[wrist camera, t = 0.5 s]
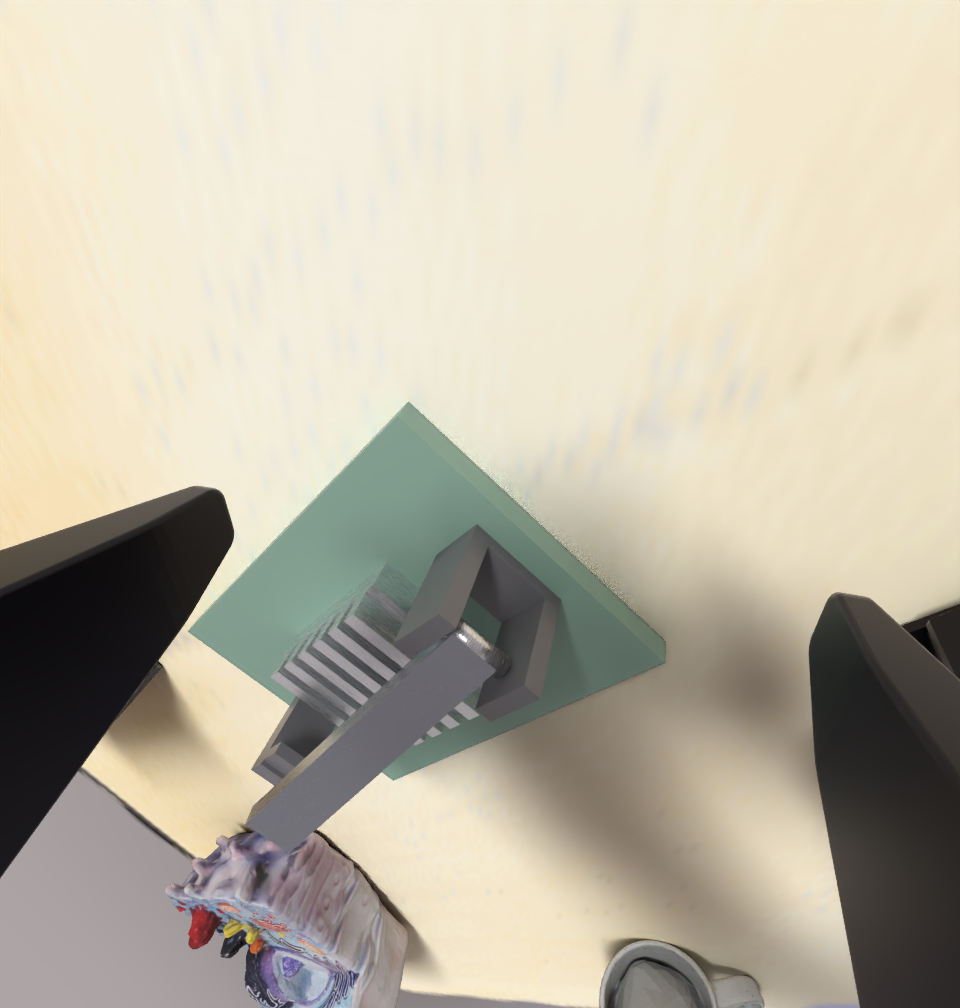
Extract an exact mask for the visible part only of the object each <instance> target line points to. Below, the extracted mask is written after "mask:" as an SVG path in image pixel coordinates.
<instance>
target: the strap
mask: <svg viewBox="0 0 960 1008" xmlns="http://www.w3.org/2000/svg"><path fill="white" fill-rule="evenodd" d="M510 664H511V659H510V658H509V657H508V656H506V655H505V654H504V653H503V652H502V651H501V650H499V649H498V648H497V647H496V646H495V645H493V644H492V643H491V642H490V641H489V640H487V639H486V638H485V637H484V636H483V635H482V634H480V633H479V632H478V631H477V630H476V629H474V628H473V627H472V626H471V625H470V624H468V623H467V622H466V621H465V620H464V619H463V618H460V621H459V623H458V626H457V628H456V629H455V630H454V631H452V632H450V633H449V634H447V635H445V636H444V637H442V638H441V639H439V640H437V641H436V642H434V643H433V644H431V645H429V646H428V647H426V648H425V649H423V650H421V651H420V652H419V653H418V654H417V655H416V656H415V657H414V658H413V659H411V660H410V661H409V662H408V663H407V664H406V665H405V666H404V667H403V668H402V669H401V670H400V671H399V672H397V673H396V674H395V675H394V676H393V677H392V678H391V679H390V680H389V681H388V682H387V683H386V684H384V685H383V686H382V687H381V688H380V689H379V690H378V691H377V692H376V693H375V694H374V695H373V696H372V697H370V698H369V699H368V700H367V701H366V702H365V703H364V704H363V705H362V706H361V707H360V708H359V709H357V710H356V711H355V712H354V713H353V714H352V715H351V716H350V717H349V718H348V719H347V720H346V721H345V722H343V723H342V724H341V725H340V726H339V727H338V728H337V729H336V730H335V731H334V732H333V733H332V734H330V735H329V736H328V737H327V738H326V739H325V740H324V741H323V742H322V743H321V744H320V745H319V746H318V747H316V748H315V749H314V750H313V751H312V752H311V753H310V754H309V755H308V756H307V757H306V758H305V759H303V760H302V761H301V762H300V763H299V764H298V765H297V766H296V767H295V768H294V769H293V770H292V771H291V772H289V773H288V774H287V775H286V776H285V777H284V778H283V779H282V780H281V781H280V782H279V783H278V784H277V785H275V786H274V787H273V788H272V789H271V790H270V791H269V792H268V793H267V794H266V795H265V796H264V797H262V798H261V799H260V800H259V801H258V802H257V803H256V804H255V805H254V806H253V807H252V810H251V812H250V814H249V817H248V819H247V821H246V824H245V825H247V826H248V827H250V828H251V829H253V830H254V831H256V832H257V833H259V834H261V835H262V836H264V837H265V838H267V839H268V840H270V841H271V842H273V843H274V844H276V845H277V846H279V847H281V848H282V849H284V850H285V851H287V852H288V853H290V852H291V851H292V850H293V849H294V848H295V847H297V846H298V845H299V844H300V843H301V842H302V841H303V840H305V839H306V838H307V837H308V836H309V835H310V834H311V833H313V832H314V831H315V830H316V829H317V828H318V827H319V826H321V825H322V824H323V823H324V822H325V821H326V820H327V819H329V818H330V817H331V816H332V815H333V814H334V813H335V812H336V811H338V810H339V809H340V808H341V807H342V806H343V805H344V804H346V803H347V802H348V801H349V800H350V799H351V798H352V797H354V796H355V795H356V794H357V793H358V792H359V791H360V790H362V789H363V788H364V787H365V786H366V785H367V784H368V783H370V782H371V781H372V780H373V779H374V778H375V777H376V776H378V775H379V774H380V773H381V772H382V771H383V770H384V769H385V768H387V767H388V766H389V765H390V764H391V763H392V762H393V761H395V760H396V759H397V758H398V757H399V756H400V755H401V754H403V753H404V752H405V751H406V750H407V749H408V748H409V747H411V746H412V745H413V744H414V743H415V742H416V741H417V740H419V739H420V738H421V737H422V736H423V735H424V734H425V733H426V732H428V731H429V730H430V729H431V728H432V727H433V726H434V725H436V724H437V723H438V722H439V721H440V720H441V719H442V718H444V717H445V716H446V715H447V714H448V713H449V712H450V711H452V710H453V709H454V708H455V707H456V706H457V705H458V704H460V703H461V702H462V701H463V700H464V699H465V698H466V697H468V696H469V695H470V694H471V693H472V692H473V691H474V690H475V689H477V688H478V687H479V686H480V685H481V684H482V683H483V682H485V681H486V680H487V679H488V678H489V677H490V676H491V675H492V676H493V677H494V678H496V679H498V678H500V677H502V676H503V675H504V674H505V673H506V672H507V670H508V669H509V667H510Z"/></svg>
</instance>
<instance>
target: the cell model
mask: <svg viewBox="0 0 960 1008" xmlns="http://www.w3.org/2000/svg"><path fill="white" fill-rule="evenodd" d="M216 844H218V845H219V847H218V848H217V849H216V850H215V851H214V852H213V853H212V854H211V855H209V856H208V857H207V858H206V859H203V858H196V859H194V860H193V861H192V867H193V871H192V872H191V873H190V875H189V876H188V877H187V879H186V880H185V882H184V883H183V885H182V886H180V885H177V884H175V883H172V884H170V885H168V886H167V888H166V891H165V893H166V895H167V896H168V897H169V898H171V899H173V904H174V906H175V907H176V908H177V909H178V910H179V912H183V913H185V914H186V915H188V916H190V917H191V918H192V925H191V928H190V930H189V933H188V934H189V936H190V938H189V946H190V947H191V948H192V949H197V948H200V947H201V946H203V945H205V944H207V943H208V941H209V940H210V939H211V938H212V936H213V934H214V932H215V931H216V932H218V933H219V934H220V935H221V936H225V940H224V942H223V946H222V950H221V953H220V955H221V957H222V958H231V957H232V956H233V955H235V954H236V953H237V952H238V951H239V949H240V948H241V947H244V948H245V949H247V950H248V952H247V955H246V974H245V986H246V990H247V991H248V992H249V994H250V996H251V997H252V998H254V999H255V1000H256V1001H257V1002H258V1003H259V1004H261V1005H262V1006H261V1008H396V1004H397V999H398V995H399V990H400V985H401V980H402V974H403V967H404V961H405V956H406V950H407V946H408V941H409V938H408V933H407V931H406V929H405V928H404V927H403V926H402V925H401V924H400V923H399V922H398V921H397V920H396V919H395V918H394V917H393V916H392V915H391V914H390V913H389V912H388V911H387V910H386V908H385V907H384V906H383V904H382V903H381V901H380V900H379V897H378V895H377V893H376V892H375V891H374V890H372V888H371V886H370V885H369V883H368V882H367V880H366V879H365V877H364V876H363V874H362V873H361V872H360V871H359V869H357V868H356V867H354V865H353V862H352V861H351V860H349V859H347V858H345V857H344V856H343V855H342V854H341V853H339V852H338V851H336V850H335V849H333V848H331V847H329V845H328V843H327V842H326V841H325V840H324V839H323V838H322V837H321V836H319V835H318V834H316V833H314V832H313V833H311V834H310V835H309V836H308V837H307V838H306V839H305V840H303V841H302V842H301V843H300V844H299V845H298V846H297V847H295V848H294V849H293V850H292V851H291V852H290V853H288V852H287V851H285V850H284V849H282V848H281V847H279V846H277V845H276V844H274V843H273V842H271V841H270V840H268V839H267V838H265V837H264V836H262V835H261V834H259V833H257V832H256V831H254V832H253V833H241V834H238V835H235V836H233V837H230V838H227V837H225V836H223V835H222V836H220V837H219V838H217V840H216Z"/></svg>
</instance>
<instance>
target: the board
mask: <svg viewBox="0 0 960 1008" xmlns="http://www.w3.org/2000/svg"><path fill="white" fill-rule="evenodd" d="M476 524H478V525H479V526H480V527H481V528H482V529H483V530H484V531H485V532H487V533H488V534H489V535H490V536H491V537H492V538H493V539H494V540H495V541H497V542H498V543H499V544H500V545H501V546H502V547H503V548H504V549H505V550H507V551H508V552H509V553H510V554H511V555H512V556H513V557H514V558H515V559H517V560H518V561H519V562H520V563H521V564H522V565H523V566H524V567H525V568H527V569H528V570H529V571H530V572H531V573H532V574H533V575H534V576H535V577H537V578H538V579H539V580H540V581H541V582H542V583H543V584H544V585H545V586H547V587H548V588H549V589H550V590H551V591H552V592H553V593H554V594H555V595H557V596H558V597H559V598H560V599H561V602H560V607H559V612H558V617H557V622H556V626H555V631H554V636H553V641H552V646H551V651H550V656H549V660H548V665H547V670H546V675H545V680H544V685H543V690H542V694H541V699H539V700H537V701H535V702H533V703H531V704H528V705H526V706H524V707H522V708H520V709H518V710H515V711H513V712H511V713H509V714H507V715H504V716H502V717H500V718H498V719H496V720H493V721H491V722H490V721H489V720H488V719H487V718H485V717H484V716H483V715H482V714H480V715H479V716H477V717H475V718H473V719H471V720H468V719H467V718H466V717H464V716H463V717H462V721H461V724H460V725H458V726H456V727H454V728H452V729H449V728H448V727H447V726H446V725H445V726H444V729H443V731H442V733H441V734H439V735H437V736H435V737H433V738H432V737H431V736H430V735H428V734H427V736H426V739H425V741H424V742H422V743H420V744H418V745H414V744H413V745H412V746H411V747H409V748H408V749H407V750H406V751H405V752H404V753H403V754H401V755H400V756H399V757H398V758H397V759H396V760H395V761H393V762H392V763H391V764H390V765H389V766H388V767H387V768H385V769H384V770H383V771H382V773H384V774H385V775H386V776H388V777H389V778H391V779H392V780H393V781H394V780H396V779H398V778H400V777H403V776H405V775H407V774H410V773H412V772H414V771H417V770H419V769H421V768H423V767H426V766H428V765H430V764H433V763H435V762H437V761H440V760H442V759H444V758H446V757H449V756H451V755H453V754H456V753H458V752H460V751H463V750H465V749H467V748H469V747H472V746H474V745H476V744H479V743H481V742H483V741H486V740H488V739H490V738H492V737H495V736H497V735H499V734H502V733H504V732H506V731H509V730H511V729H513V728H515V727H518V726H520V725H522V724H525V723H527V722H529V721H532V720H534V719H536V718H538V717H541V716H543V715H545V714H548V713H550V712H552V711H555V710H557V709H559V708H562V707H564V706H566V705H568V704H571V703H573V702H575V701H578V700H580V699H582V698H585V697H587V696H589V695H591V694H594V693H596V692H598V691H601V690H603V689H605V688H608V687H610V686H612V685H614V684H617V683H619V682H621V681H624V680H626V679H628V678H631V677H633V676H635V675H637V674H640V673H642V672H644V671H647V670H649V669H651V668H654V667H656V666H658V665H660V664H663V663H665V641H664V640H663V639H662V638H661V637H660V636H659V635H658V634H657V633H656V632H654V631H653V630H652V629H651V628H650V627H649V626H648V625H647V624H646V623H645V622H644V621H643V620H642V619H641V618H639V617H638V616H637V615H636V614H635V613H634V612H633V611H632V610H631V609H630V608H629V607H628V606H627V605H626V604H624V603H623V602H622V601H621V600H620V599H619V598H618V597H617V596H616V595H615V594H614V593H613V592H612V591H611V590H609V589H608V588H607V587H606V586H605V585H604V584H603V583H602V582H601V581H600V580H599V579H598V578H597V577H596V576H594V575H593V574H592V573H591V572H590V571H589V570H588V569H587V568H586V567H585V566H584V565H583V564H582V563H581V562H579V561H578V560H577V559H576V558H575V557H574V556H573V555H572V554H571V553H570V552H569V551H568V550H567V549H566V548H564V547H563V546H562V545H561V544H560V543H559V542H558V541H557V540H556V539H555V538H554V537H553V536H552V535H551V534H549V533H548V532H547V531H546V530H545V529H544V528H543V527H542V526H541V525H540V524H539V523H538V522H537V521H536V520H534V519H533V518H532V517H531V516H530V515H529V514H528V513H527V512H526V511H525V510H524V509H523V508H522V507H521V506H519V505H518V504H517V503H516V502H515V501H514V500H513V499H512V498H511V497H510V496H509V495H508V494H507V493H506V492H504V491H503V490H502V489H501V488H500V487H499V486H498V485H497V484H496V483H495V482H494V481H493V480H492V479H491V478H489V477H488V476H487V475H486V474H485V473H484V472H483V471H482V470H481V469H480V468H479V467H478V466H477V465H476V464H474V463H473V462H472V461H471V460H470V459H469V458H468V457H467V456H466V455H465V454H464V453H463V452H462V451H461V450H459V449H458V448H457V447H456V446H455V445H454V444H453V443H452V442H451V441H450V440H449V439H448V438H447V437H446V436H444V435H443V434H442V433H441V432H440V431H439V430H438V429H437V428H436V427H435V426H434V425H433V424H432V423H431V422H429V421H428V420H427V419H426V418H425V417H424V416H423V415H422V414H421V413H420V412H419V411H418V410H417V409H416V408H414V407H413V406H412V405H411V404H410V403H409V402H408V403H407V404H406V405H405V406H404V407H403V408H402V409H401V410H400V411H399V412H398V413H397V414H396V415H395V416H394V417H393V418H392V419H391V421H390V422H389V423H388V424H387V425H386V426H385V427H384V428H383V429H382V430H381V431H380V432H379V433H378V434H377V435H376V436H375V437H374V438H373V439H372V440H371V441H370V442H369V443H368V444H367V445H366V446H365V447H364V448H363V449H362V450H361V451H360V453H359V454H358V455H357V456H356V457H355V458H354V459H353V460H352V461H351V462H350V463H349V464H348V465H347V466H346V467H345V468H344V469H343V470H342V471H341V472H340V473H339V474H338V475H337V476H336V477H335V478H334V479H333V480H332V481H331V482H330V484H329V485H328V486H327V487H326V488H325V489H324V490H323V491H322V492H321V493H320V494H319V495H318V496H317V497H316V498H315V499H314V500H313V501H312V502H311V503H310V504H309V505H308V506H307V507H306V508H305V509H304V510H303V511H302V512H301V513H300V514H299V516H298V517H297V518H296V519H295V520H294V521H293V522H292V523H291V524H290V525H289V526H288V527H287V528H286V529H285V530H284V531H283V532H282V533H281V534H280V535H279V536H278V537H277V538H276V539H275V540H274V541H273V542H272V543H271V544H270V545H269V546H268V548H267V549H266V550H265V551H264V552H263V553H262V554H261V555H260V556H259V557H258V558H257V559H256V560H255V561H254V562H253V563H252V564H251V565H250V566H249V567H248V568H247V569H246V570H245V571H244V572H243V573H242V574H241V575H240V576H239V577H238V579H237V580H236V581H235V582H234V583H233V584H232V585H231V586H230V587H229V588H228V589H227V590H226V591H225V592H224V593H223V594H222V595H221V596H220V597H219V598H218V599H217V600H216V601H215V602H214V603H213V604H212V605H211V606H210V607H209V608H208V609H207V611H206V612H205V613H204V614H203V615H202V616H201V617H200V618H199V619H198V620H197V621H196V623H195V624H194V625H193V626H192V627H191V628H190V629H189V631H188V632H189V633H191V634H192V635H193V636H195V637H196V638H197V639H199V640H200V641H202V642H203V643H204V644H206V645H207V646H208V647H210V648H211V649H213V650H214V651H215V652H217V653H218V654H220V655H221V656H222V657H224V658H225V659H226V660H228V661H229V662H231V663H232V664H233V665H235V666H236V667H237V668H239V669H240V670H242V671H243V672H244V673H246V674H247V675H248V676H250V677H251V678H253V679H254V680H255V681H257V682H258V683H260V684H261V685H262V686H264V687H265V688H266V689H268V690H269V691H271V692H272V693H273V694H275V695H276V696H277V697H279V698H280V699H282V700H283V701H284V702H286V703H287V704H288V705H291V703H292V701H293V700H294V698H295V696H296V695H294V694H293V693H292V692H290V691H289V690H288V689H286V688H285V687H283V686H282V685H281V684H279V683H278V682H277V681H275V680H274V679H273V678H271V676H272V674H273V673H274V671H275V670H276V668H277V667H278V665H279V664H280V662H281V661H282V659H283V658H284V656H283V655H284V653H285V652H286V650H287V649H288V647H289V646H290V644H291V643H292V641H293V640H294V638H295V637H296V635H297V634H298V633H299V632H300V631H301V630H303V629H304V628H305V627H306V626H308V625H309V624H310V623H311V622H313V621H314V620H315V619H316V618H318V617H319V616H320V615H321V614H323V613H324V612H325V611H326V610H327V609H329V608H330V607H331V606H332V605H334V604H335V603H336V602H337V601H339V600H340V599H341V598H342V597H344V596H345V595H346V594H347V593H349V592H350V591H351V590H352V589H354V588H355V587H356V586H357V585H359V584H360V583H361V582H362V581H364V580H365V579H366V578H367V577H369V576H370V575H371V574H372V573H374V572H375V571H376V570H377V569H378V568H380V567H381V566H382V565H383V564H385V563H386V562H388V563H389V564H390V565H391V566H392V567H394V568H395V569H396V570H397V571H398V572H400V573H401V574H402V575H403V576H404V577H406V578H407V579H408V580H409V581H410V582H412V583H413V584H414V585H415V586H416V587H418V588H419V589H420V588H421V586H422V583H423V581H424V579H425V577H426V575H427V573H428V571H429V569H430V567H431V565H432V563H433V561H434V559H435V557H436V555H437V554H438V553H439V552H441V551H442V550H443V549H445V548H446V547H447V546H449V545H450V544H451V543H453V542H454V541H455V540H457V539H458V538H459V537H461V536H462V535H463V534H465V533H466V532H467V531H468V530H470V529H471V528H472V527H474V526H475V525H476ZM461 618H463V619H464V620H465V621H466V622H467V623H468V624H470V625H471V626H472V627H473V628H474V629H476V630H477V631H478V632H479V633H480V634H482V635H483V636H484V637H485V638H486V639H487V640H489V641H490V642H491V643H492V644H493V645H495V643H496V640H497V636H498V633H499V630H500V627H501V622H499V621H498V620H497V619H496V618H495V617H494V616H492V615H491V614H490V613H489V612H488V611H487V610H485V609H484V608H483V607H482V606H481V605H480V604H479V603H477V602H476V601H475V600H474V599H473V598H472V597H470V596H469V597H468V600H467V602H466V605H465V608H464V610H463V613H462V615H461ZM337 728H338V726H337V725H336V726H335V728H334V730H333V732H334V731H335V730H336V729H337ZM333 732H332V733H333Z"/></svg>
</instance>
